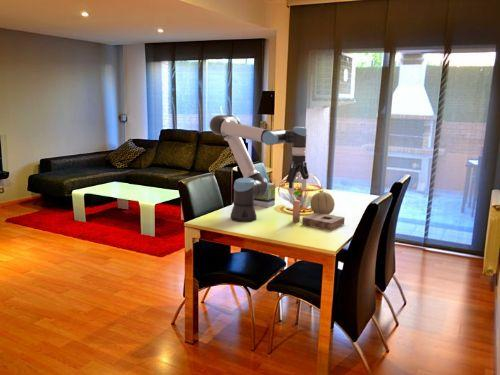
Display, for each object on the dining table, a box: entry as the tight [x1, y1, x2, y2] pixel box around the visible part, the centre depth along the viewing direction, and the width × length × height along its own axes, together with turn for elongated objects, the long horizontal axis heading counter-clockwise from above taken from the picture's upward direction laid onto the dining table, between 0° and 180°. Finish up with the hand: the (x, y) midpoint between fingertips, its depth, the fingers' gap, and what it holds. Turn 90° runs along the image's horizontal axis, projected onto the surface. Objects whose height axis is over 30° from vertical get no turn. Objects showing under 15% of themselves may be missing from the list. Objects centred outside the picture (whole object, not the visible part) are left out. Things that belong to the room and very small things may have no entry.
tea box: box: [254, 182, 276, 208], centre depth 287 cm, size 15×10×15 cm, turn 58°
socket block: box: [301, 212, 346, 231], centre depth 244 cm, size 18×16×4 cm
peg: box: [292, 199, 301, 223], centre depth 248 cm, size 4×4×12 cm
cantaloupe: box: [309, 190, 336, 215], centre depth 262 cm, size 15×15×15 cm
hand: (297, 191), depth 246 cm, fingers open, 13 cm apart
